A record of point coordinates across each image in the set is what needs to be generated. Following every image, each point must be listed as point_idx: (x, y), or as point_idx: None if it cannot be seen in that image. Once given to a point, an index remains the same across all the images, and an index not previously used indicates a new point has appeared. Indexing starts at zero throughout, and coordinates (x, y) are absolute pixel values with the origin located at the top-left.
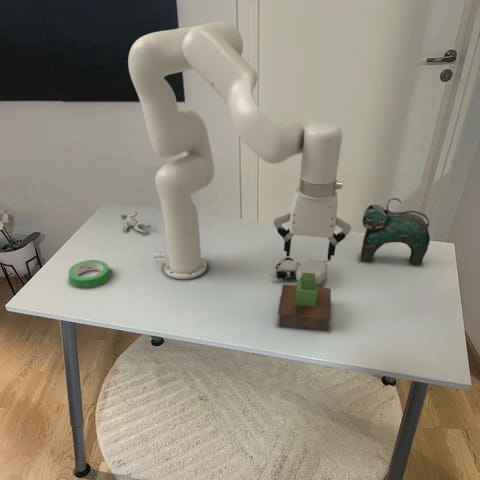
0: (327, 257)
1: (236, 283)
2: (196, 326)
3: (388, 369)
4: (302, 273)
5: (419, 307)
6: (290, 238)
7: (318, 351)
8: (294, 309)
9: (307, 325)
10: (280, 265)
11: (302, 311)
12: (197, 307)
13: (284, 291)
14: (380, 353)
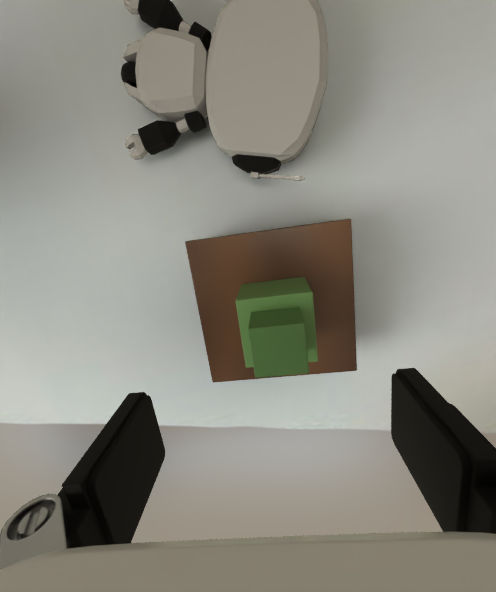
0: (391, 410)
1: (49, 200)
2: (54, 395)
3: (478, 429)
4: (250, 337)
5: None
6: (98, 513)
7: (325, 410)
8: None
9: None
10: (137, 84)
11: None
12: (17, 334)
13: (201, 281)
14: (468, 388)
